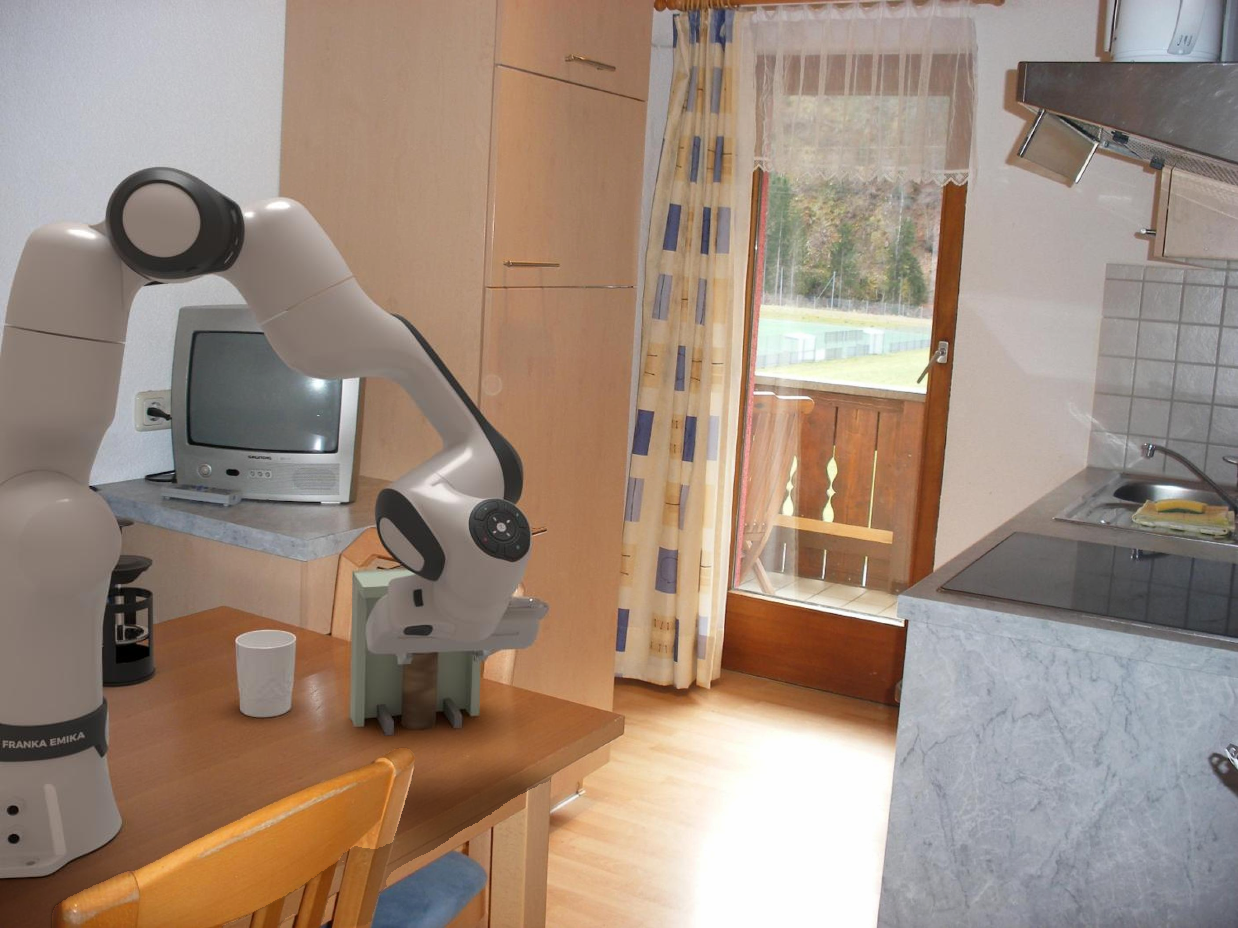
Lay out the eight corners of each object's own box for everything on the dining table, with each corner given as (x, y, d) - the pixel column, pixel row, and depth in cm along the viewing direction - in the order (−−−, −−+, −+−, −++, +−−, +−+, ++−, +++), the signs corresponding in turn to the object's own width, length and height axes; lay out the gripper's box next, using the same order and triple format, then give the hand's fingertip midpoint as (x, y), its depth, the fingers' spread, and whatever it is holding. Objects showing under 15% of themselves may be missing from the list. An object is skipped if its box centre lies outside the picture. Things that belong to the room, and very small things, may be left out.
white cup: (278, 722, 156) (278, 650, 155) (224, 715, 158) (224, 644, 156) (305, 702, 164) (306, 633, 162) (253, 695, 165) (253, 627, 164)
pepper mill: (405, 731, 156) (407, 651, 154) (398, 718, 160) (400, 640, 158) (439, 727, 158) (441, 649, 156) (431, 715, 162) (433, 638, 160)
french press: (168, 665, 175) (167, 514, 171) (148, 687, 166) (146, 529, 162) (87, 663, 174) (84, 511, 170) (62, 685, 165) (58, 526, 161)
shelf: (360, 738, 153) (363, 587, 149) (350, 716, 160) (352, 570, 156) (486, 726, 159) (492, 580, 156) (471, 704, 166) (476, 565, 163)
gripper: (548, 576, 139) (518, 631, 150) (375, 578, 132) (356, 636, 142) (557, 624, 136) (526, 677, 146) (380, 628, 128) (361, 684, 139)
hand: (441, 657), depth 144 cm, fingers open, 8 cm apart
